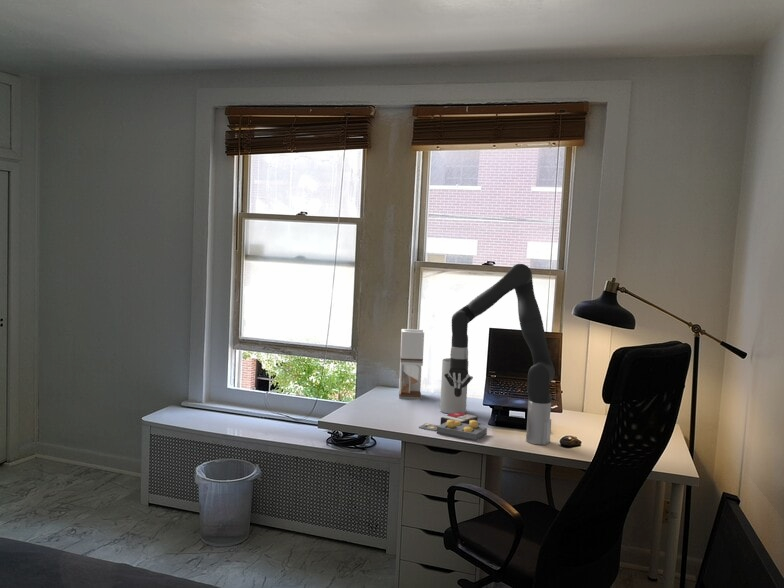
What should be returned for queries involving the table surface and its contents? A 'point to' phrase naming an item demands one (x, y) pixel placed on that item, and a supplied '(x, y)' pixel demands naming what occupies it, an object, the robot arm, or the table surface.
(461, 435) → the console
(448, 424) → the button
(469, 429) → the button
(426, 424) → the card
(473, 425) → the button
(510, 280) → the robot arm
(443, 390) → the cylinder vase
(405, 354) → the white square dispenser
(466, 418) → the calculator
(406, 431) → the table surface
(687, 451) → the table surface
